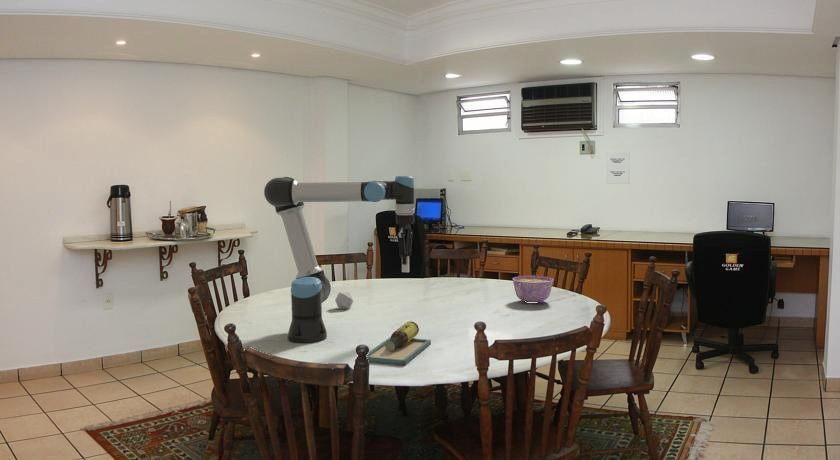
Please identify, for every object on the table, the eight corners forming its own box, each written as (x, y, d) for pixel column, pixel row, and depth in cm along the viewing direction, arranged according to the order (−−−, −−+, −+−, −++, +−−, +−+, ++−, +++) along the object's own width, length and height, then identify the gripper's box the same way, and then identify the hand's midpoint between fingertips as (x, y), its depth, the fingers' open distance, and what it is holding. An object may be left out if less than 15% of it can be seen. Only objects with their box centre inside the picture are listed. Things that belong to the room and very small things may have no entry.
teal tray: (391, 341, 250) (391, 336, 250) (430, 344, 245) (430, 339, 245) (361, 361, 224) (361, 356, 224) (404, 365, 219) (404, 360, 218)
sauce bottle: (414, 318, 248) (393, 334, 230) (422, 332, 248) (401, 350, 230) (401, 324, 251) (379, 341, 232) (409, 338, 250) (387, 356, 232)
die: (345, 312, 303) (356, 295, 305) (330, 303, 304) (341, 286, 306) (347, 315, 311) (358, 298, 313) (332, 306, 312) (343, 289, 314)
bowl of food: (508, 304, 314) (508, 281, 313) (516, 297, 333) (516, 274, 332) (550, 307, 308) (550, 283, 307) (555, 299, 326) (555, 276, 325)
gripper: (408, 215, 254) (408, 275, 256) (419, 213, 266) (419, 270, 269) (390, 215, 256) (391, 274, 259) (402, 213, 269) (402, 269, 271)
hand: (405, 271), depth 264 cm, fingers closed
